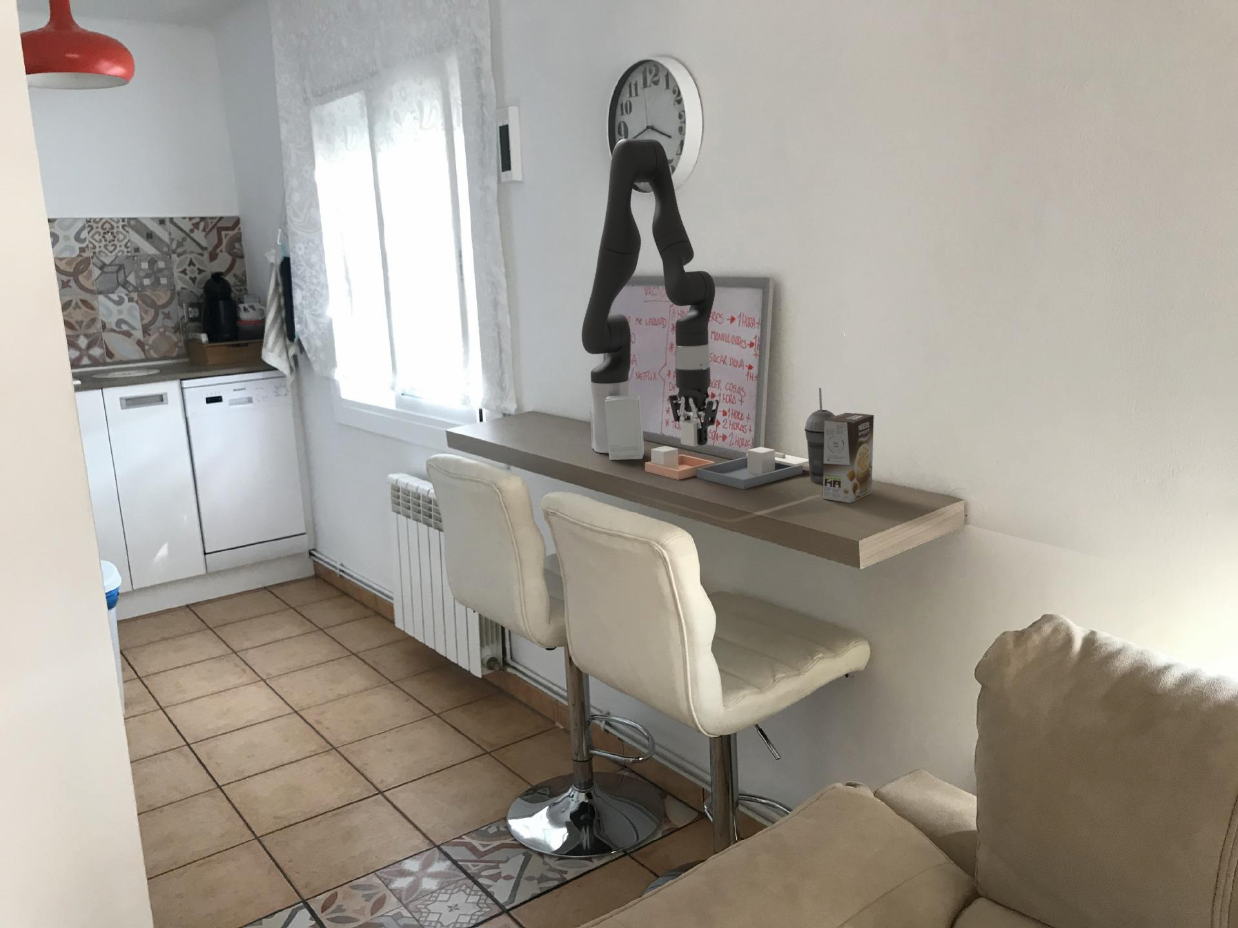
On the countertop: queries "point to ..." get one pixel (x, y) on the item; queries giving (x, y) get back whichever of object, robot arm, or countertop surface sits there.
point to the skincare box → (624, 427)
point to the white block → (665, 457)
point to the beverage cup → (816, 441)
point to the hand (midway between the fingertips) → (694, 442)
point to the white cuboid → (689, 432)
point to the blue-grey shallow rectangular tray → (740, 478)
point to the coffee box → (848, 457)
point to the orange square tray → (679, 467)
